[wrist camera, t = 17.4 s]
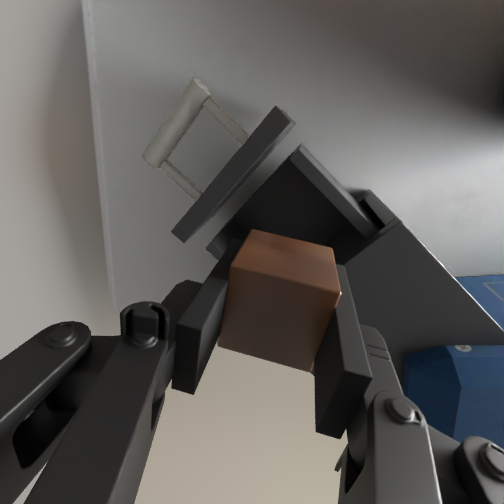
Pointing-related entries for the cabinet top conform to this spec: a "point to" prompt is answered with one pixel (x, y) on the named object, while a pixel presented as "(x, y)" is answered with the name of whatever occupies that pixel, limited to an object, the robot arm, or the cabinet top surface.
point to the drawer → (270, 193)
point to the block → (279, 299)
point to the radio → (463, 376)
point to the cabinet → (411, 292)
